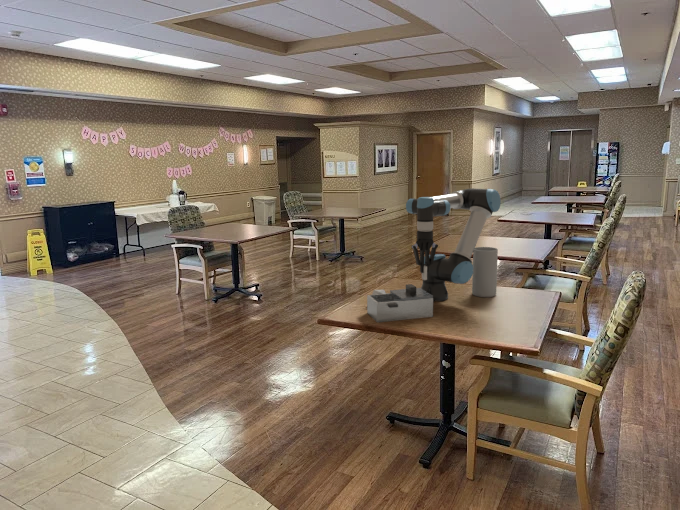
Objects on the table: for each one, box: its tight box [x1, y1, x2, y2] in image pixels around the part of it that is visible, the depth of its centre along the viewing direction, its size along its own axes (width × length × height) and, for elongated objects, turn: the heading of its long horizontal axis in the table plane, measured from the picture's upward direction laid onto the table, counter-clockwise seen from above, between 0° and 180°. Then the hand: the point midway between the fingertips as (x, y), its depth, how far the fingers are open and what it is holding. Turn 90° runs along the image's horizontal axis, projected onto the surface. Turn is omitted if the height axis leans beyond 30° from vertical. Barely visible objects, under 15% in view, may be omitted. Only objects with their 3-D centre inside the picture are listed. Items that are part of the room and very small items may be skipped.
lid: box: [389, 283, 433, 301], centre depth 247 cm, size 16×16×4 cm
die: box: [371, 289, 387, 295], centre depth 263 cm, size 8×9×10 cm
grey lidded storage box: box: [366, 292, 434, 323], centre depth 247 cm, size 28×19×9 cm
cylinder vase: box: [471, 246, 499, 298], centre depth 277 cm, size 12×12×25 cm
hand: (424, 279), depth 247 cm, fingers closed
